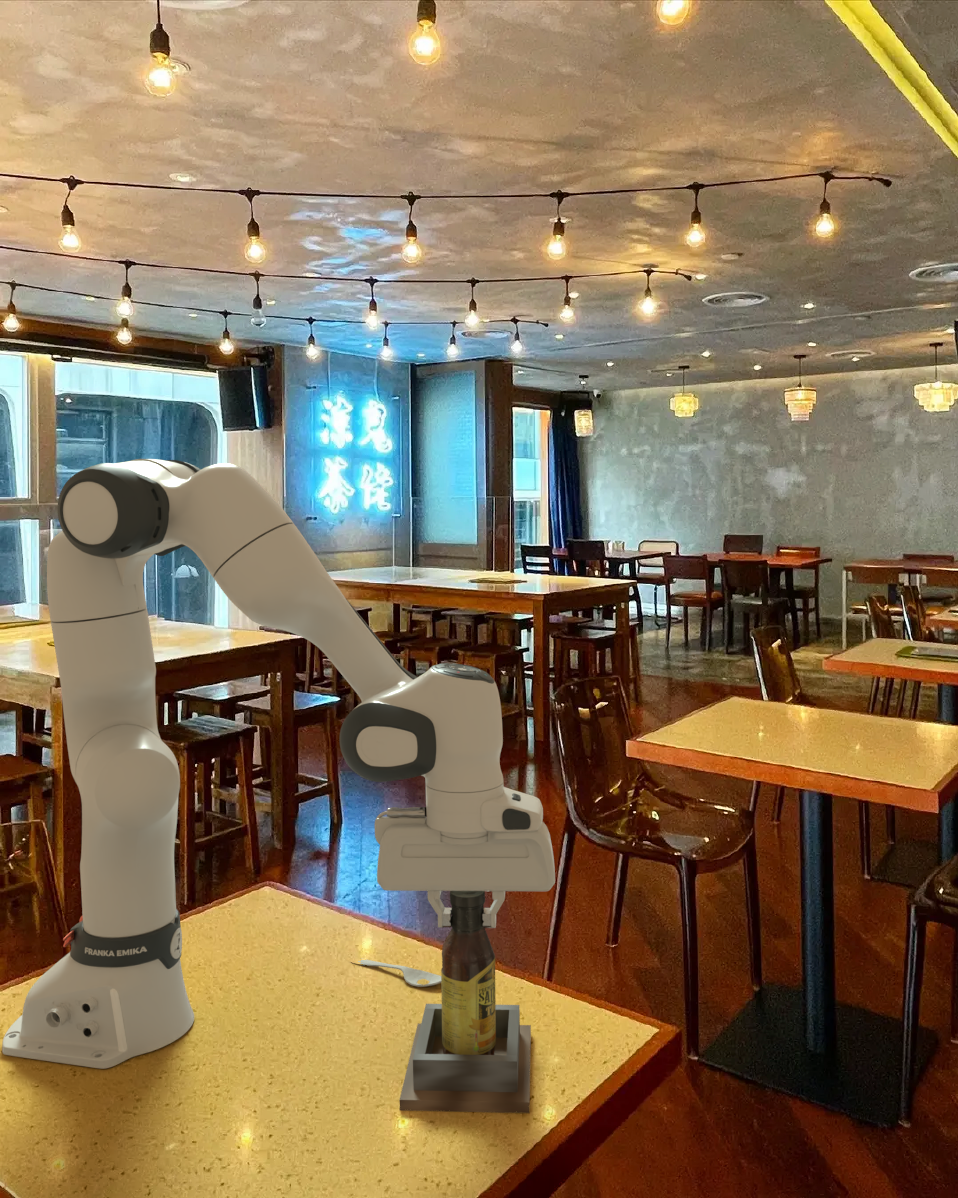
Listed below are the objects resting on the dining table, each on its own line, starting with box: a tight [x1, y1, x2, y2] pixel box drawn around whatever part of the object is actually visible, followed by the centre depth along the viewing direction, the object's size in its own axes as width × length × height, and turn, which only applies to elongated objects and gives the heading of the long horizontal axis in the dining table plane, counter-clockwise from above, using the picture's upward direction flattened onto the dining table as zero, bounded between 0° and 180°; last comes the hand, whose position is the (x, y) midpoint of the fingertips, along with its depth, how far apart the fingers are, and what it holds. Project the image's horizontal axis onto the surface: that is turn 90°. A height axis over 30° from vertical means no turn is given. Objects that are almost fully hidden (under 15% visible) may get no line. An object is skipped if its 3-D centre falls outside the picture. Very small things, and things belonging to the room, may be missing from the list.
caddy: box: [398, 1003, 532, 1114], centre depth 113 cm, size 14×16×5 cm
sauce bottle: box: [440, 891, 497, 1055], centre depth 112 cm, size 7×6×20 cm
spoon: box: [358, 959, 441, 988], centre depth 138 cm, size 4×21×2 cm, turn 56°
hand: (467, 926), depth 111 cm, fingers closed on sauce bottle, 4 cm apart
